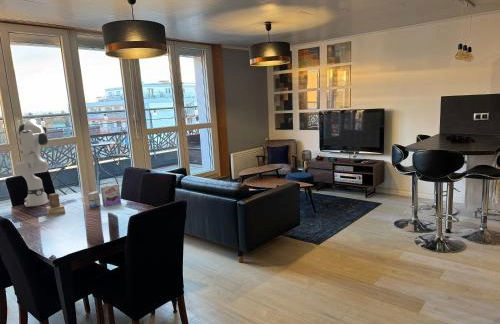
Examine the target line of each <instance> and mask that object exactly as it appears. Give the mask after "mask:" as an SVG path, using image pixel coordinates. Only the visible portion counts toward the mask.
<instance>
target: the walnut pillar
mask: <svg viewBox="0 0 500 324" xmlns="http://www.w3.org/2000/svg"><path fill="white" fill-rule="evenodd" d="M59 195H60V194H59V193H50V194H48V200H49V202H48V203H49V206H50V207H52V208H55V207H59V206H60V204H61V203H60V196H59Z"/></svg>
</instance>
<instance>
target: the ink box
mask: <svg viewBox="0 0 500 324" xmlns="http://www.w3.org/2000/svg"><path fill="white" fill-rule="evenodd" d="M100 198H101V196H100V191H92V192H89V193H87V199H88V205H89V208H97V207H98V206H101V199H100Z"/></svg>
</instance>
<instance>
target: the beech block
mask: <svg viewBox="0 0 500 324" xmlns="http://www.w3.org/2000/svg"><path fill="white" fill-rule="evenodd" d="M45 208H46V215H47V216H48V217H50V218H51V217H55V216H60V215H64V214H66V209H65V205H64V204H62V203H60V206H59V207H55V208H52V207H50V205H49V206H46V207H45Z"/></svg>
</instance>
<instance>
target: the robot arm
mask: <svg viewBox="0 0 500 324" xmlns="http://www.w3.org/2000/svg"><path fill="white" fill-rule="evenodd" d="M39 123H40V122H39V121H38V120H37V119H33V118H30V119H28V120H26V122H25V123H23V124H20V125H19V126H18V128H17V132H18V134H19V143H20V145H21V150H20V154H21V155H22V161H20V162H17V163H16V164H15V166H14V170H15V171H14V172H15V173H17V174H18V175H20V176H22V177H23V178H24V179H25V182H26V184H27V196H26V197H25V198H24V206H25V207H38V206H41V205H46V204H48V203H50V202H49V197H48V194H47V193H46V192H45V188H44V185H43V179H41V177H38V176H36V175H35V174H39V173H40V174H41V173H44V172H47V171H48V170H49V168H50V164H49V162H48V161H47V160H45V159H43V157H42V155H41V146H46V145H47V144H48V143H49V137H48V128H47V126H46V125H40V124H39Z"/></svg>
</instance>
